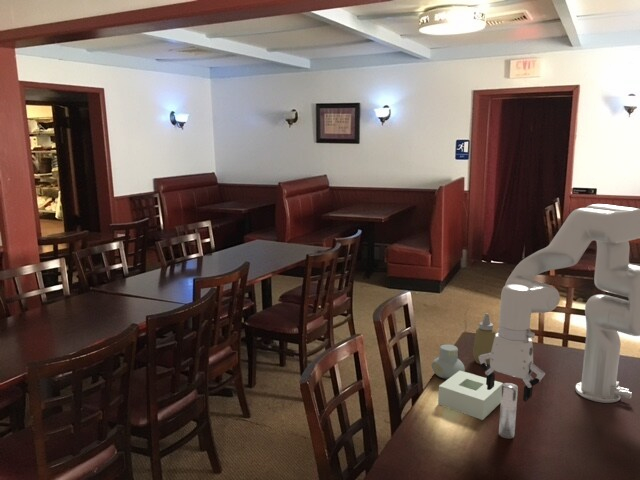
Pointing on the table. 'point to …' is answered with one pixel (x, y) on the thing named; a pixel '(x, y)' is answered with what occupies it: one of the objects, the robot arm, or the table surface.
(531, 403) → the table surface
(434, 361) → the air freshener
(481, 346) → the squeeze bottle
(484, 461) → the table surface
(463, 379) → the socket block
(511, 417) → the steel peg
